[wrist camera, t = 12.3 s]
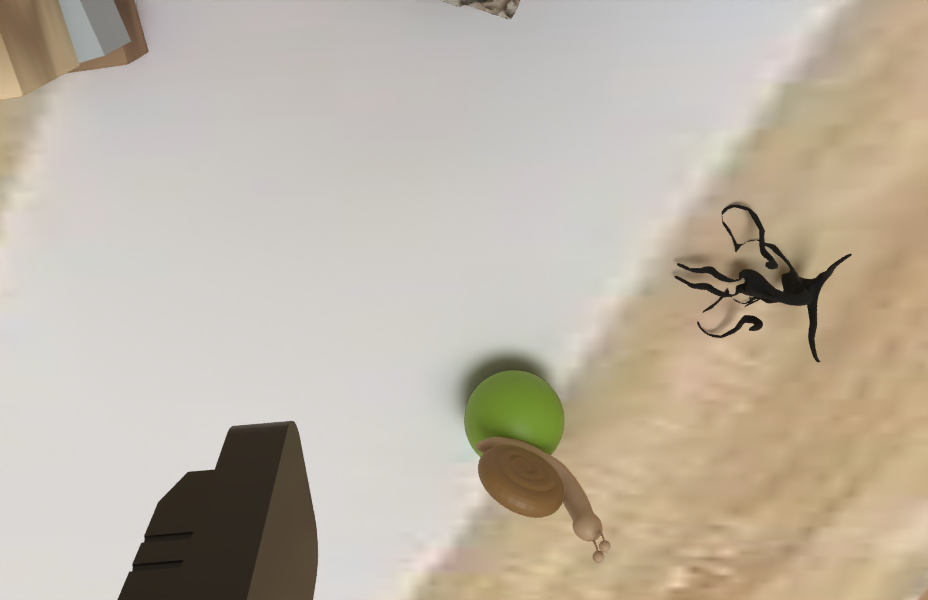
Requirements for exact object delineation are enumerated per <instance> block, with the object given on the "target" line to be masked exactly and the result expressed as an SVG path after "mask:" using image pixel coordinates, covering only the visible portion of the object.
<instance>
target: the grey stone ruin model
mask: <svg viewBox="0 0 928 600" xmlns="http://www.w3.org/2000/svg"><path fill="white" fill-rule="evenodd" d="M441 1H444V2H446V3H449V4H452V5H455V6H458V7H461V6H462V5H469V6H471V7H474V8H476V9H479V10H483V11H485V12H488V13H491V14H493V15H497V16H500V17H503V18H506V19H511V18H512V17H513V15H514V14H515V12H516V9H517V7H518V5H519V2H520V0H487V1H486V2H478V1H475V0H441Z"/></svg>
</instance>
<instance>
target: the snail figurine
mask: <svg viewBox="0 0 928 600" xmlns="http://www.w3.org/2000/svg"><path fill="white" fill-rule="evenodd" d="M464 424H465V431H466V435H467V438H468V440H469V442H470V444H471V446H472V448H473V449H474V451H475V452H476V453H477V454H478V455H479V456H480V457H481V458H480V460H479V464H478V473H479V477H480V480H481V482H482V484H483V486H484V488H485V489H486V491H487V492H488V493H489V494H490V495H491V496H492V497H493V498H494V499H495V500H496V501H497V502H498V503H500V504H501V505H502V506H504V507H506V508H507V509H509V510H511V511H513V512H515V513H518V514H520V515H524V516H527V517H534V518H538V517H545V516H548V515H551V514H553V513H554V512H556V511H557V510H558V509H559V507H560V506H561V504H562V502H563V504H564V505H565V507H566V509H567V511H568V512H569V514H570V516H571V517H572V519H573V530H574V532H575V534H576V535H577V536H578V537H579V538H581V539H582V540H585V541H593V542H594V544H595V547H596V550H597V551H596V552H594V554H593V560H594V561H595V562H596V563H601V562H602V561H603V559H604V554H603V553H602V552H605V553H606V552H608V551H609V550H610V543H609V542H608V541H606V540H605V539H604V536H603V534H602V524H601V521H600V519H599V518H598V517H597V516H596V515H595V514H594V512H593V510H592V508H591V505H590V502H589V500H588V498H587V496H586V494H585V492H584V491H583V489H582V487H581V486H580V484H579V483H578V481H577V480H576V478H575V477H574V476H573V475H572V473H571V472H570V471H569V470H568V469H567V468H566V466H565V465H564V464H562V463H561V462H560V461H559V460H557V459H556V458H554V457H552V456H551V455H552V453H553V452H554V451H555V449H556V448H557V446H558V444H559V442H560V440H561V438H562V434H563V430H564V412H563V408H562V404H561V402H560V399H559V397H558V396H557V394H556V392H555V391H554V390H553V388H552V387H551V386H550V385H549V384H548V383H547V382H546V381H544V380H543V379H542V378H540V377H538V376H536V375H534V374H532V373H529V372H525V371H520V370H508V371H503V372H499V373H496V374H494V375H492V376H490V377H488V378H487V379H485V380H484V381H482V382H481V383H480V384H479V385H478V386H477V387H476V389H475V390H474V391H473V393H472V394H471V396H470V398H469V400H468V403H467V406H466V410H465V417H464ZM600 536H602V538H603V541H601V542H600V544H599V548H600V550H601V551H602V552H601V551H598V548H597V545H596V542H595V540H596V539H598V538H599V537H600Z"/></svg>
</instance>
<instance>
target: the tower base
mask: <svg viewBox="0 0 928 600" xmlns="http://www.w3.org/2000/svg"><path fill="white" fill-rule="evenodd" d="M114 3H115V5H116V7H117V10H118V12H119V14H120V17H121V19H122V21H123V24H124V26H125V28H126V30H127V33H128V35H129V37H130V40H131V42H129V43H127V44H125V45H123V46H121V47H120V48H118V49H116V50H114V51H112V52H110V53H108V54H107V55H105V56H101V57H98V58H95V59H91V60H88V61H85V62H81V63H79V65H80V66H78V67H76V68H75V69H73V70H71V71H69V72H67V73H71V72H78V71H85V70H92V69H99V68H106V67H113V66H120V65H127V64H129V63H131V62H133V61H134V60H136V59H138V58H139V57H141V56H143V55H144V54H146V53H147V52H149V51H148V48H147V44H146V41H145V37H144V34H143V30H142V27H141V23H140V20H139V16H138V12H137V9H136V5H135V2H134V0H114Z"/></svg>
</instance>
